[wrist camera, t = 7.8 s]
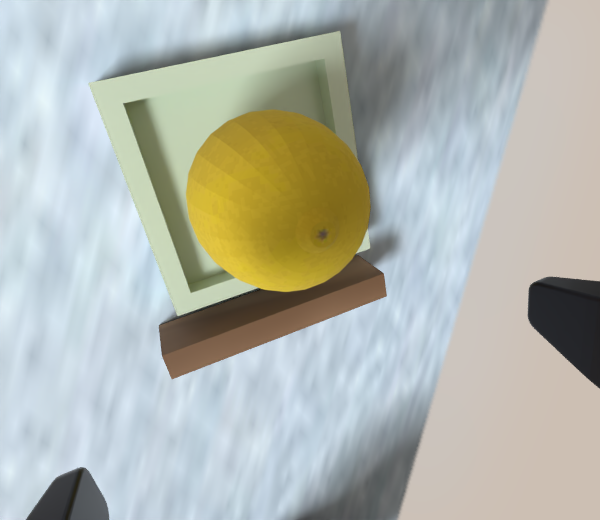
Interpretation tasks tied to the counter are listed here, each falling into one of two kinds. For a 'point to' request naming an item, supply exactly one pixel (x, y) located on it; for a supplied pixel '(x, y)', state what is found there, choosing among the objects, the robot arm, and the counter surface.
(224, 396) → the counter surface
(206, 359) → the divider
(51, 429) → the counter surface
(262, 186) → the lemon
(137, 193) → the dish
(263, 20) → the counter surface
